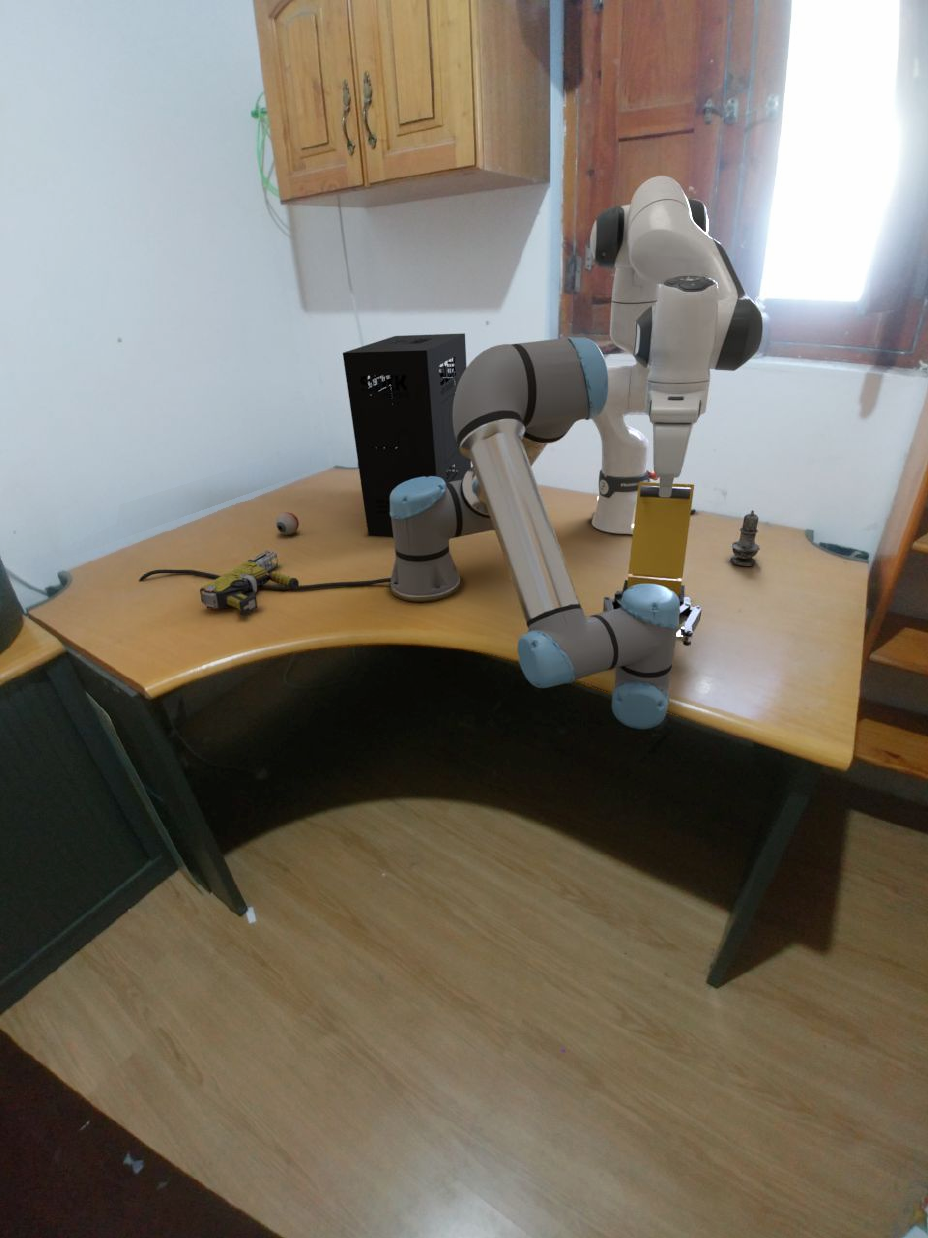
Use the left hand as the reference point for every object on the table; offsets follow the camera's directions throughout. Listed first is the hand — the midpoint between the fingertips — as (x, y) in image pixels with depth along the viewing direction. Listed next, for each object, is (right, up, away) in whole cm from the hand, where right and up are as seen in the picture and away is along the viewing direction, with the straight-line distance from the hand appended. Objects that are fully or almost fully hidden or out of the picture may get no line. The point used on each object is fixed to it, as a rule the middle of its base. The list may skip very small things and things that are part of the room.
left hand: (653, 589), depth 113 cm
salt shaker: (+28, +7, +23) cm, 37 cm away
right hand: (-3, +15, -16) cm, 22 cm away
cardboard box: (-47, +25, +62) cm, 82 cm away
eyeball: (-83, +18, +52) cm, 100 cm away
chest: (+2, -4, +6) cm, 8 cm away
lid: (-1, +10, -6) cm, 12 cm away
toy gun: (-81, +1, +23) cm, 84 cm away
